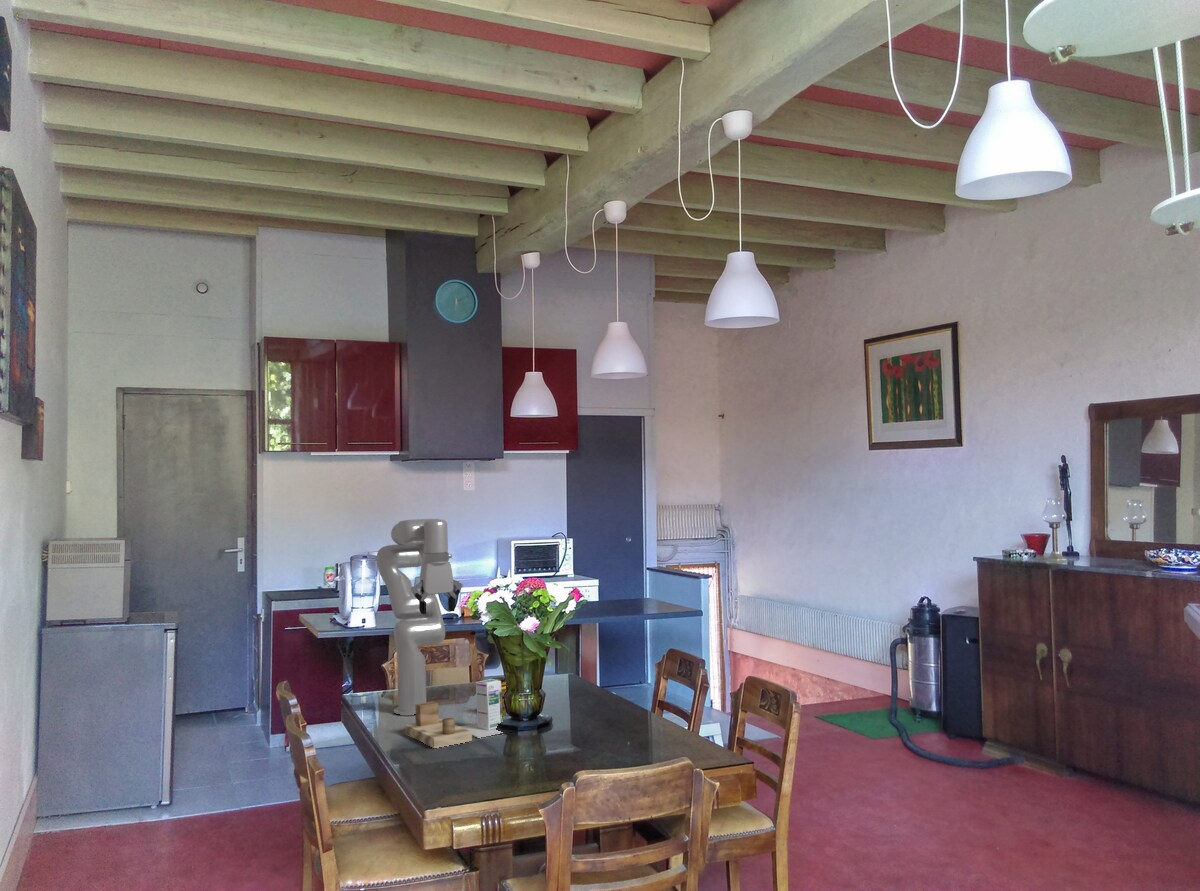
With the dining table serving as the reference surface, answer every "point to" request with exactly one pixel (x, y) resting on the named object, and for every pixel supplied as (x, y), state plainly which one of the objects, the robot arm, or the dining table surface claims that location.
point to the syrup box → (489, 704)
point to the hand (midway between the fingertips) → (437, 612)
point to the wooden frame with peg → (436, 727)
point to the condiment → (502, 692)
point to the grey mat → (480, 731)
